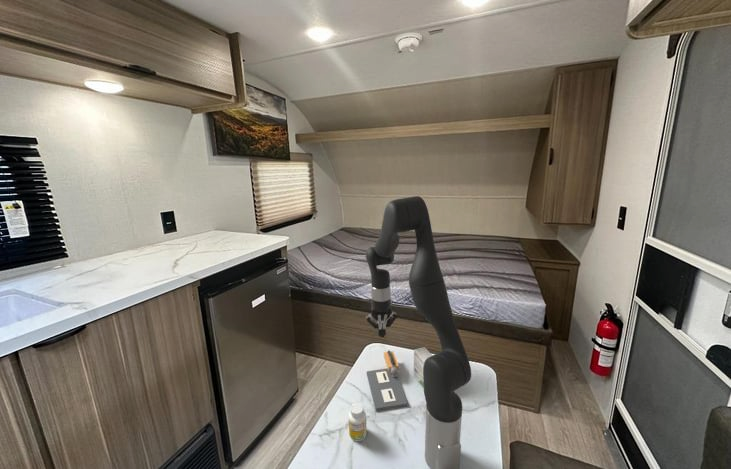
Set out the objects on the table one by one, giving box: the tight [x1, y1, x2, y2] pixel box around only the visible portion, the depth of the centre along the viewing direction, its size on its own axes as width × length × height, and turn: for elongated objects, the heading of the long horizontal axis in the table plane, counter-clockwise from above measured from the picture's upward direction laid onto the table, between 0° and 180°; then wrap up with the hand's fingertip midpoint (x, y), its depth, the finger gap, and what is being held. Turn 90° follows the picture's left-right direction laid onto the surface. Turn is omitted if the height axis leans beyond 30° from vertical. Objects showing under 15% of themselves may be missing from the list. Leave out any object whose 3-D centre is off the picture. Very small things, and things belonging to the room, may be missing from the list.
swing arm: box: [383, 350, 400, 376], centre depth 113 cm, size 4×11×3 cm, turn 8°
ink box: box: [413, 346, 434, 389], centre depth 108 cm, size 8×5×12 cm, turn 21°
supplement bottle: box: [347, 402, 368, 442], centre depth 87 cm, size 5×5×10 cm
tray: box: [366, 367, 408, 412], centre depth 106 cm, size 18×11×3 cm, turn 10°
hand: (382, 336), depth 115 cm, fingers closed
